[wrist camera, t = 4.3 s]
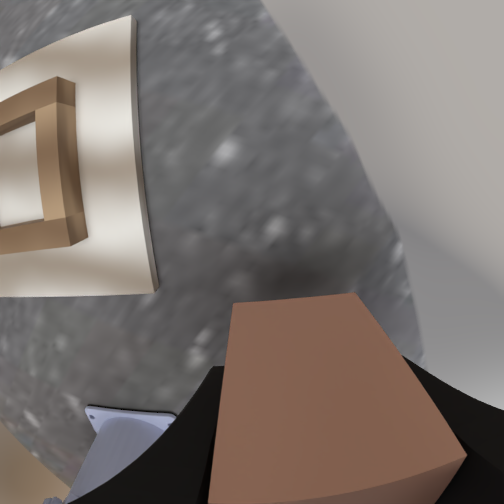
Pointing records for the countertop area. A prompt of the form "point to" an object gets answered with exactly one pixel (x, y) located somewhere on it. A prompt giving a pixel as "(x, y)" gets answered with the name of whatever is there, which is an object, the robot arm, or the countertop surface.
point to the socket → (74, 170)
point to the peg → (324, 411)
